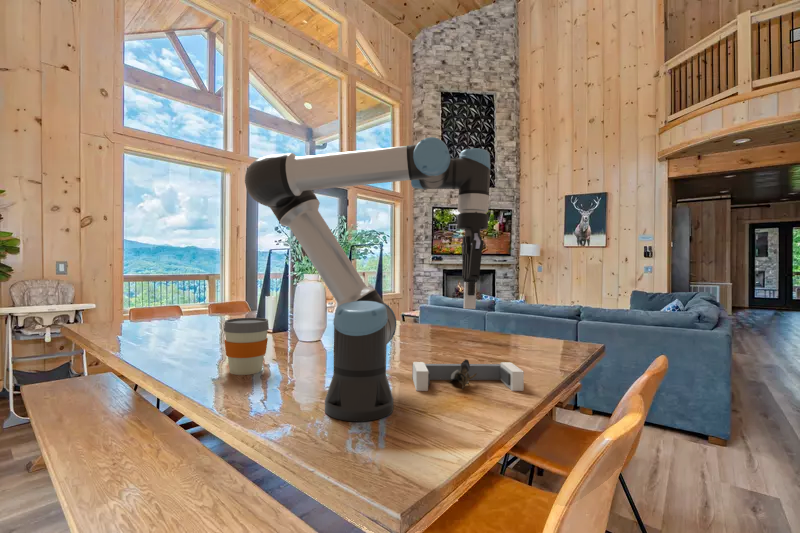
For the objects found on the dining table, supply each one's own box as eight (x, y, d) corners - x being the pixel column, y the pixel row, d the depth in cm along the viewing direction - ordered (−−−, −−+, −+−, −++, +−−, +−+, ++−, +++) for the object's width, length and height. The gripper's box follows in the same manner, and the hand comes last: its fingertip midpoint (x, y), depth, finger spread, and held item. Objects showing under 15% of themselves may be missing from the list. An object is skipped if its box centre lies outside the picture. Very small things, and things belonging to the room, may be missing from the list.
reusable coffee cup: (237, 364, 126) (238, 317, 126) (275, 366, 124) (276, 318, 124) (213, 375, 114) (214, 322, 114) (255, 377, 112) (256, 324, 112)
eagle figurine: (484, 385, 105) (475, 370, 114) (471, 364, 103) (463, 350, 112) (459, 400, 105) (452, 384, 114) (445, 379, 104) (439, 364, 112)
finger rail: (416, 390, 103) (416, 371, 103) (412, 377, 115) (412, 360, 115) (523, 390, 104) (523, 371, 104) (508, 377, 116) (508, 360, 116)
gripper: (495, 210, 93) (491, 312, 93) (481, 217, 106) (477, 306, 106) (463, 209, 93) (459, 311, 93) (452, 215, 106) (449, 305, 106)
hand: (469, 308), depth 99 cm, fingers closed
